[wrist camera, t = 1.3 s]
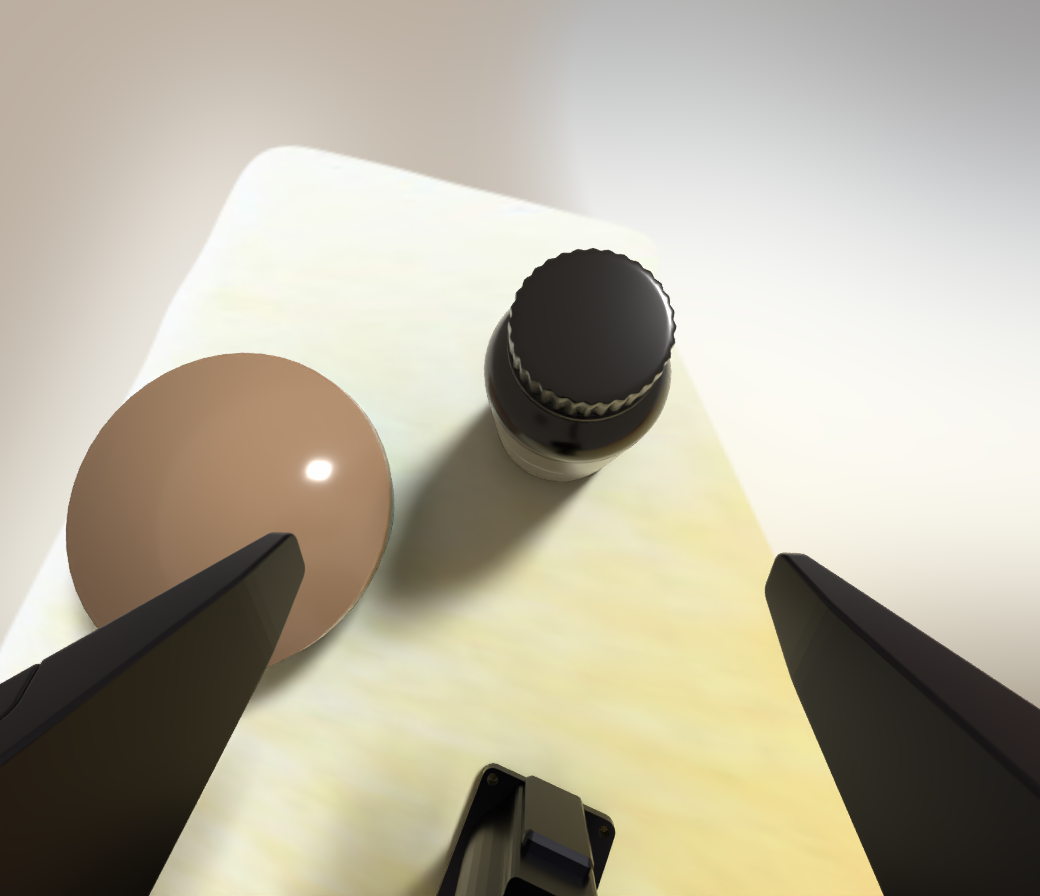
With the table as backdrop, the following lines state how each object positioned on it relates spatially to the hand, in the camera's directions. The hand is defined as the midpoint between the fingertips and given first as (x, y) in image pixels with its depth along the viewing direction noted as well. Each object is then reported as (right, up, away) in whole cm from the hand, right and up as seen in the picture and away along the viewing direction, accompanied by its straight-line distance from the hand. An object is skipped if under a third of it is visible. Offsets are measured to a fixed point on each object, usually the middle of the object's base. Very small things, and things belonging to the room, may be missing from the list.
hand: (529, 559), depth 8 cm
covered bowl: (-13, -1, +15) cm, 20 cm away
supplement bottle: (+2, +4, +16) cm, 17 cm away
